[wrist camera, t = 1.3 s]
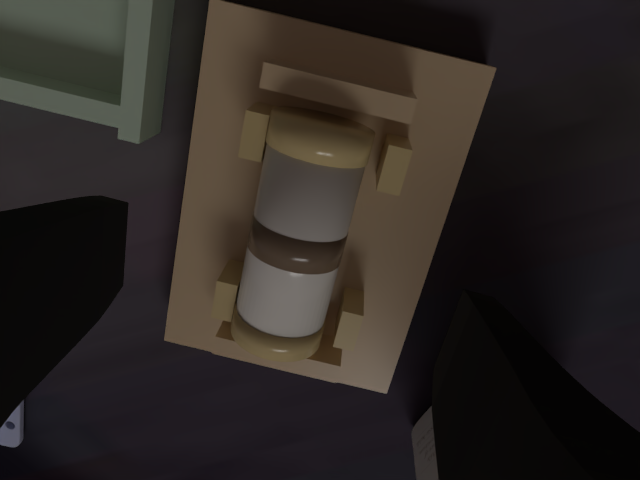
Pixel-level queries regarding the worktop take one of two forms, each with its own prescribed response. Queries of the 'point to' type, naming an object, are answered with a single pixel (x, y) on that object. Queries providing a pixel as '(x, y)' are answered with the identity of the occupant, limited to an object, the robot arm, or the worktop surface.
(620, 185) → the worktop surface
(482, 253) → the worktop surface
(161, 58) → the parts tray
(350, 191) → the fuse
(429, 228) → the fuse holder
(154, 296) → the worktop surface
